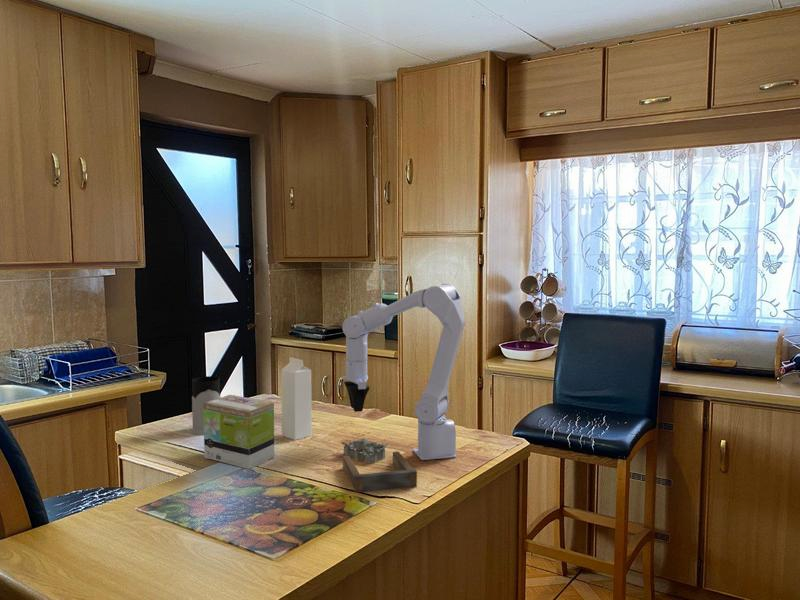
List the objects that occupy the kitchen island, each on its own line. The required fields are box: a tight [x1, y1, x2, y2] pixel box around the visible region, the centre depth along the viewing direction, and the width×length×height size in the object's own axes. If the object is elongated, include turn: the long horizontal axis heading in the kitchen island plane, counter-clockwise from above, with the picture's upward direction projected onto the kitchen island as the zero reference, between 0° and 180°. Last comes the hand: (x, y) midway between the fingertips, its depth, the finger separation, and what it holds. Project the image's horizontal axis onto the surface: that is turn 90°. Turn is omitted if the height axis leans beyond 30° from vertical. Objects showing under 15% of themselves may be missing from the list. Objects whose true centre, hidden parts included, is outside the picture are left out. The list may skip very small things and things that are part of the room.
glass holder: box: [190, 375, 222, 436], centre depth 185 cm, size 9×14×15 cm, turn 28°
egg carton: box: [340, 438, 388, 464], centre depth 163 cm, size 11×8×4 cm
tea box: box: [203, 394, 275, 470], centre depth 160 cm, size 15×10×15 cm, turn 62°
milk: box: [280, 357, 313, 441], centre depth 178 cm, size 6×6×22 cm
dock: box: [342, 451, 418, 493], centre depth 149 cm, size 14×16×4 cm
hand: (356, 409), depth 172 cm, fingers open, 3 cm apart
